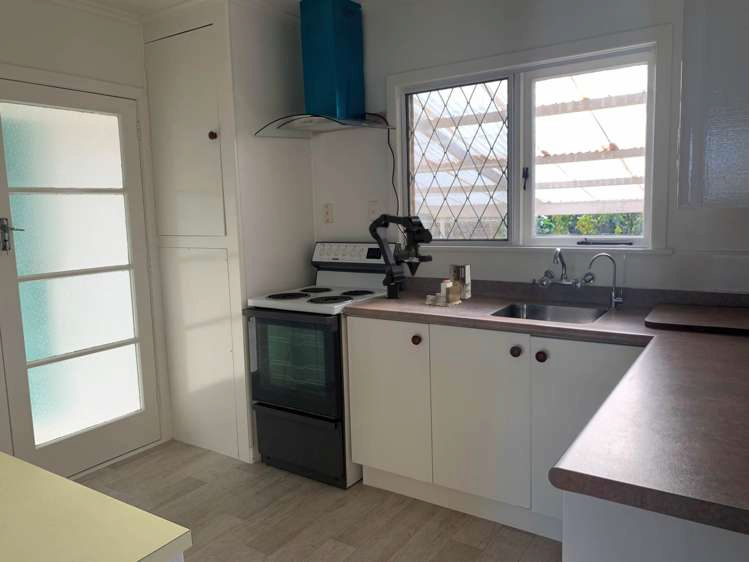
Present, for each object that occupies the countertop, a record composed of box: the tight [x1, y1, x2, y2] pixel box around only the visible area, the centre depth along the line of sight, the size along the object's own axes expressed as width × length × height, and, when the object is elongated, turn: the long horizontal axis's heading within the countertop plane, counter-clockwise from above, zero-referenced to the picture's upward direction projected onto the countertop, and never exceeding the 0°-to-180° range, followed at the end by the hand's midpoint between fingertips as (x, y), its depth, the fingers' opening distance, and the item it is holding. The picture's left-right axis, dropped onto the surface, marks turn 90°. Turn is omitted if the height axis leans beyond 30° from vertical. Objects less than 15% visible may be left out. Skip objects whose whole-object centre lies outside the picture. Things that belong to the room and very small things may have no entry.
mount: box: [424, 286, 462, 307], centre depth 268 cm, size 12×11×8 cm
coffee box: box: [448, 263, 472, 300], centre depth 283 cm, size 9×6×16 cm
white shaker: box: [440, 279, 452, 297], centre depth 267 cm, size 4×5×9 cm
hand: (413, 276), depth 276 cm, fingers closed
